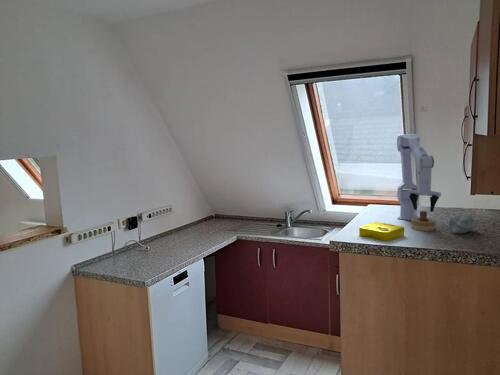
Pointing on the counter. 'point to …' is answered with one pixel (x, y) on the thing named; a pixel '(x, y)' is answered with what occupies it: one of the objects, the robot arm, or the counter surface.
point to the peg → (423, 216)
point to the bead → (423, 224)
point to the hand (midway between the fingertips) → (423, 210)
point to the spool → (461, 223)
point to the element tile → (381, 231)
